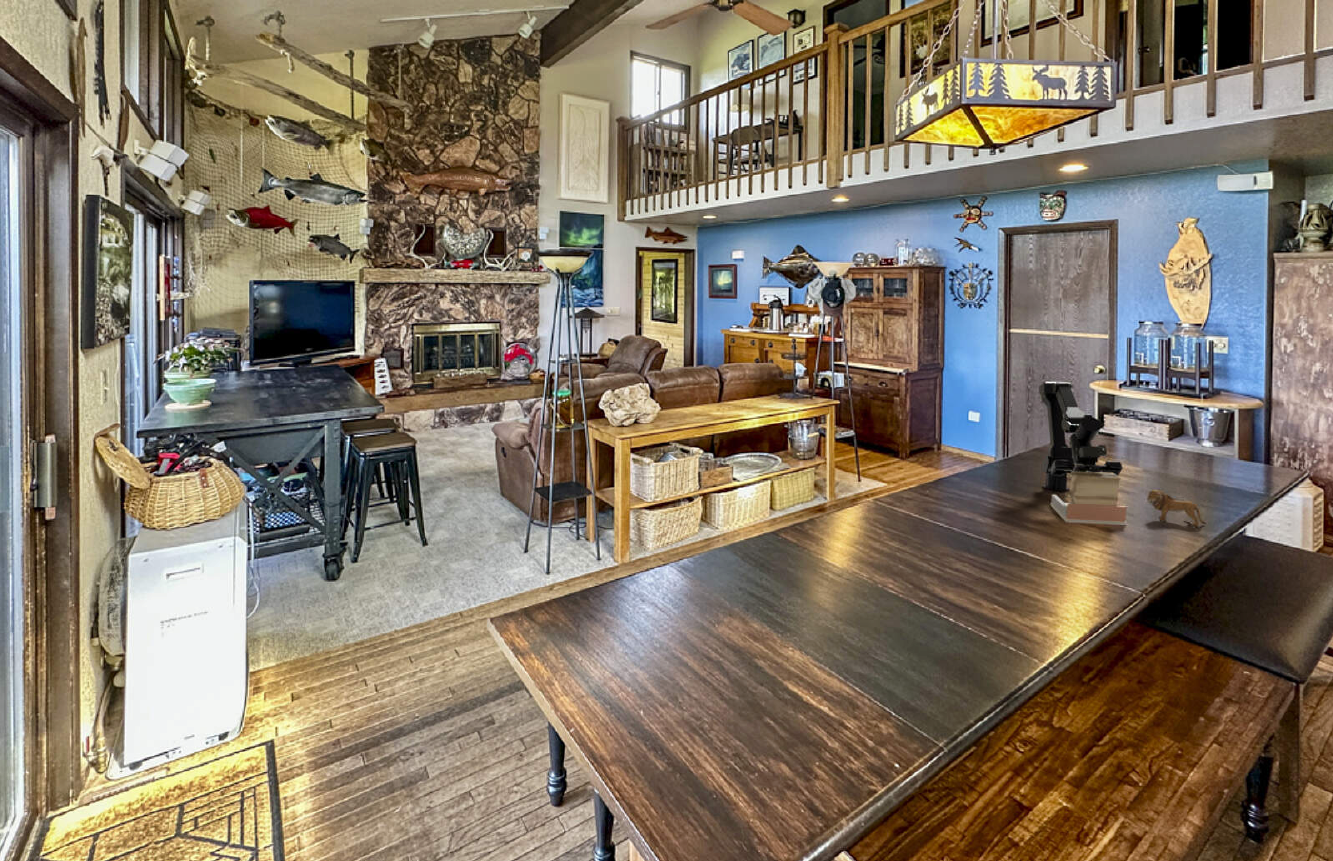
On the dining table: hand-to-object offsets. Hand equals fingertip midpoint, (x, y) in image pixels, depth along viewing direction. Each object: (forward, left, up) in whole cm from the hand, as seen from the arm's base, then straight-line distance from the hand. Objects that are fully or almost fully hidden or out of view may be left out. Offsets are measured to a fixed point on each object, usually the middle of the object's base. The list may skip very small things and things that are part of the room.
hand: (1090, 491), depth 213 cm
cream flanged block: (+3, -1, -7) cm, 7 cm away
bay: (-1, +1, -8) cm, 8 cm away
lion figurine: (+10, +20, -8) cm, 24 cm away
